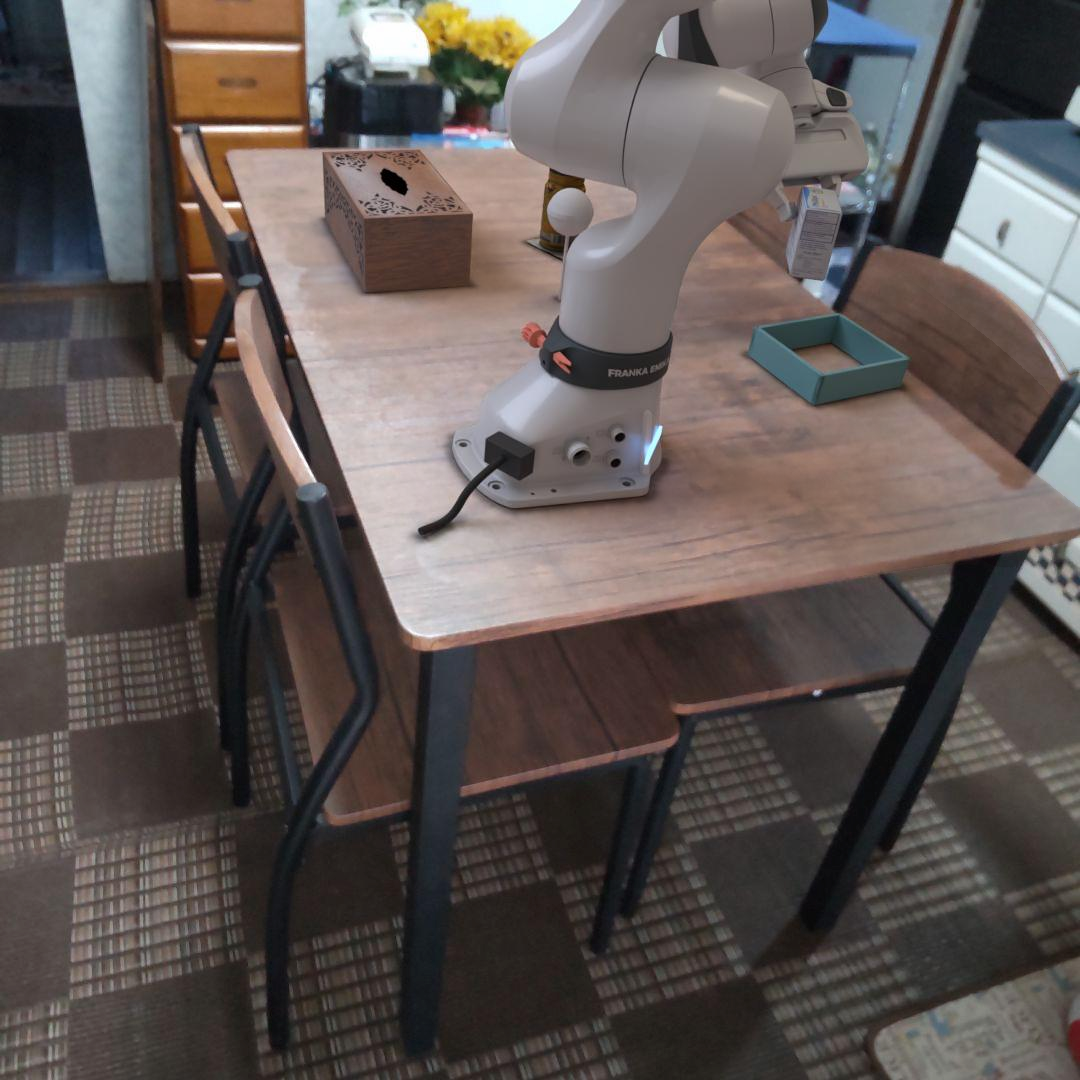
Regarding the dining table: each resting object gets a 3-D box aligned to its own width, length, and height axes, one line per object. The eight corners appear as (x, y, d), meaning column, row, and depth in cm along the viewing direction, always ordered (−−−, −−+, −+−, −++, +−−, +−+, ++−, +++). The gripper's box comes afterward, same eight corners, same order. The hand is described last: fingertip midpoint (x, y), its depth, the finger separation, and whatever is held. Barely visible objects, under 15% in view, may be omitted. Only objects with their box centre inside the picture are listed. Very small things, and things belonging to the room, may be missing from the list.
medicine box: (824, 282, 121) (844, 212, 115) (787, 277, 121) (806, 206, 115) (818, 257, 127) (837, 189, 121) (783, 252, 127) (801, 184, 122)
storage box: (813, 405, 119) (822, 376, 116) (747, 355, 128) (754, 326, 125) (900, 387, 125) (910, 358, 122) (831, 339, 134) (839, 312, 131)
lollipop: (560, 286, 139) (573, 178, 130) (591, 301, 136) (606, 192, 127) (528, 296, 135) (539, 186, 126) (559, 313, 132) (572, 201, 123)
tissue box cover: (325, 219, 150) (322, 151, 144) (418, 215, 155) (419, 149, 148) (365, 292, 131) (364, 218, 125) (469, 285, 136) (473, 213, 130)
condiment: (560, 233, 154) (568, 154, 147) (599, 252, 150) (609, 171, 142) (525, 242, 150) (532, 161, 143) (564, 262, 146) (573, 180, 138)
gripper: (728, 99, 116) (759, 213, 115) (860, 93, 124) (890, 199, 124) (699, 127, 121) (728, 235, 121) (827, 119, 130) (855, 220, 129)
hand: (811, 217), depth 122 cm, fingers closed on medicine box, 5 cm apart
